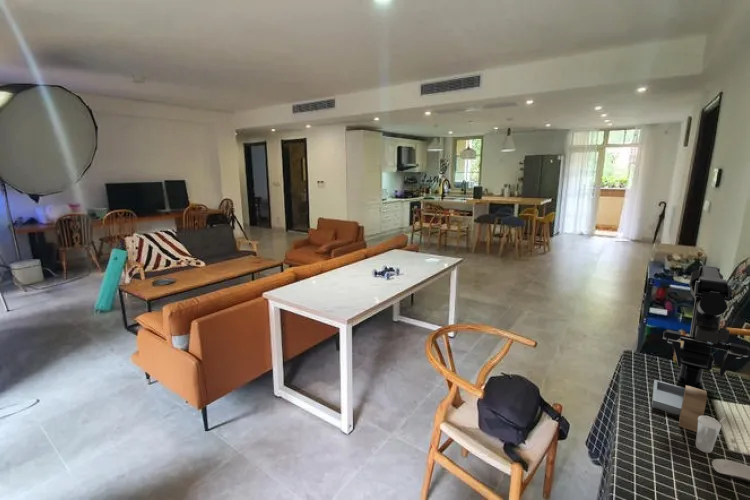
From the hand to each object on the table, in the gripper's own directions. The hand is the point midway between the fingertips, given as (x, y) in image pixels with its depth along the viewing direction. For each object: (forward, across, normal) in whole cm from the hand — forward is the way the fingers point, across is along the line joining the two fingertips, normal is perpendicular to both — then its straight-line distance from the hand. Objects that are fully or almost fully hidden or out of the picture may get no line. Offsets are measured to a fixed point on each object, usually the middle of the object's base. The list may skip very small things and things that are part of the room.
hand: (699, 371), depth 107 cm
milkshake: (+20, +3, -7) cm, 21 cm away
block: (+16, 0, 0) cm, 16 cm away
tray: (+11, -5, +10) cm, 16 cm away
